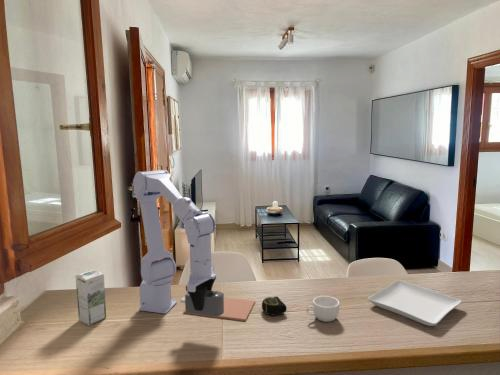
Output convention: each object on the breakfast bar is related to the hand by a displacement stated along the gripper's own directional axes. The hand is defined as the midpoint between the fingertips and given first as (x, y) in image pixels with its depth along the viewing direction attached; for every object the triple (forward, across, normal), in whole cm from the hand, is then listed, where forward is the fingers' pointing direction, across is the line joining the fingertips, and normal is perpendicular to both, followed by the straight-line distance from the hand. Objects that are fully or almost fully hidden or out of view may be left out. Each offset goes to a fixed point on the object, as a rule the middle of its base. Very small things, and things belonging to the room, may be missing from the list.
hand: (202, 305), depth 99 cm
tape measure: (+9, +17, -17) cm, 26 cm away
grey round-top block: (+1, 0, 0) cm, 1 cm away
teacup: (+8, +16, -32) cm, 37 cm away
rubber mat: (+8, +15, 0) cm, 17 cm away
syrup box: (+8, -1, +35) cm, 36 cm away
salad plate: (+9, +30, -60) cm, 68 cm away
